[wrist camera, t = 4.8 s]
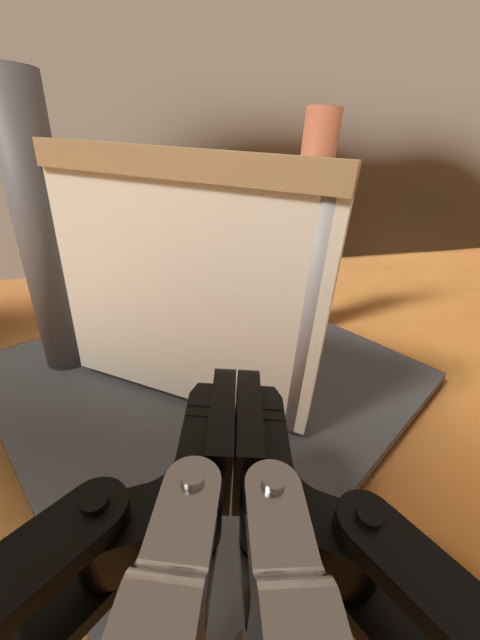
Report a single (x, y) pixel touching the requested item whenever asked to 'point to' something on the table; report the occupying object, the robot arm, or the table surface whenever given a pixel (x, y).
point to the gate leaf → (199, 260)
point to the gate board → (155, 405)
